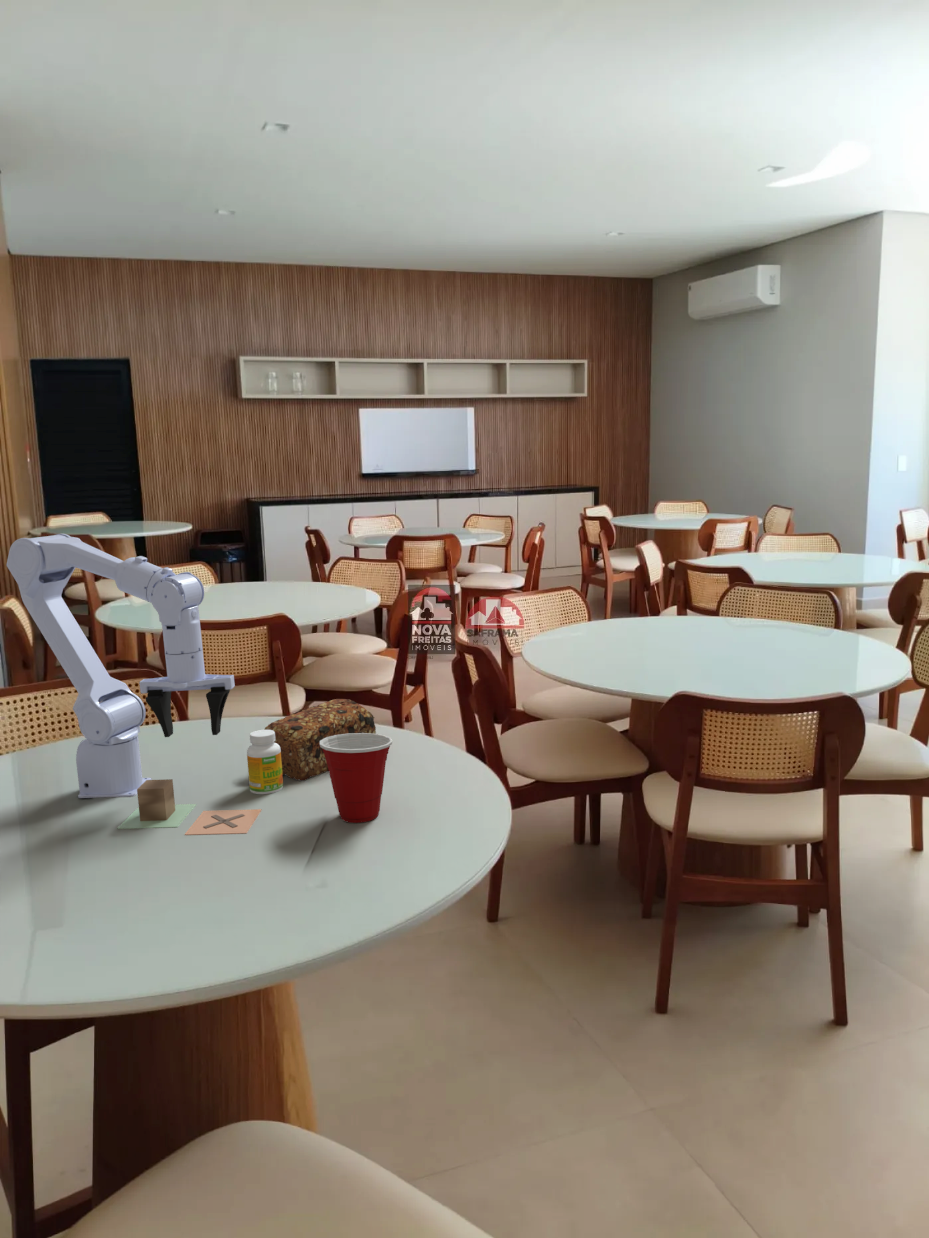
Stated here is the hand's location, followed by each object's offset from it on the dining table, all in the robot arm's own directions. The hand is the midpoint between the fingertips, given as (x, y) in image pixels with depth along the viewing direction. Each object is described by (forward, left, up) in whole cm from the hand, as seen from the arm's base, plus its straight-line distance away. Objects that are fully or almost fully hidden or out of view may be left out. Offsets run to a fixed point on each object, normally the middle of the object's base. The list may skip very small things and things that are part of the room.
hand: (192, 734), depth 146 cm
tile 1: (-3, -9, -10) cm, 14 cm away
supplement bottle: (+11, +2, -11) cm, 15 cm away
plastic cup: (+28, -10, -11) cm, 31 cm away
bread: (+17, +16, -11) cm, 26 cm away
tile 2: (+8, -12, -10) cm, 18 cm away
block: (-3, -9, -10) cm, 14 cm away
